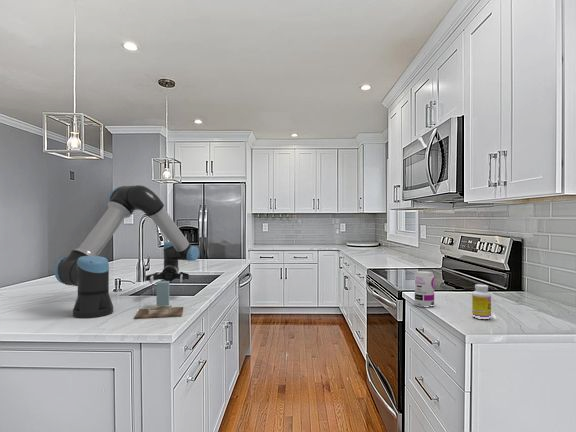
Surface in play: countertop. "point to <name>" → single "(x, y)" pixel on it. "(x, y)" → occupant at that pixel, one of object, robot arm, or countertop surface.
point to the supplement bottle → (481, 301)
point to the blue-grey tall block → (162, 293)
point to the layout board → (159, 312)
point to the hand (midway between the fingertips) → (166, 280)
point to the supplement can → (424, 288)
